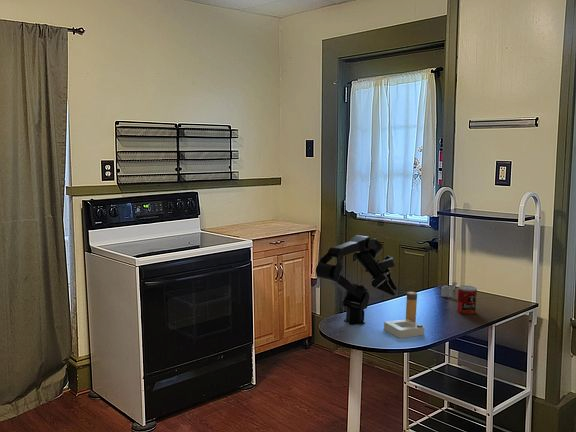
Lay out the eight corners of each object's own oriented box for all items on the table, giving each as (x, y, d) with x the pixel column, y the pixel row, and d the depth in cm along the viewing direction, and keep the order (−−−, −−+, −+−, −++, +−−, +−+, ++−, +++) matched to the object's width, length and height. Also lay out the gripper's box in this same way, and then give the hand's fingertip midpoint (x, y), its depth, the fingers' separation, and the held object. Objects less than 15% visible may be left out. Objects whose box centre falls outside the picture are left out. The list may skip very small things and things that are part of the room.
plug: (409, 326, 228) (410, 294, 226) (403, 323, 232) (404, 292, 230) (417, 325, 230) (419, 294, 228) (411, 322, 233) (413, 291, 232)
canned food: (462, 315, 246) (464, 290, 244) (453, 309, 254) (455, 285, 252) (478, 314, 247) (480, 289, 246) (469, 309, 255) (471, 285, 254)
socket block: (399, 338, 214) (400, 328, 214) (383, 329, 224) (384, 320, 224) (424, 335, 218) (424, 325, 218) (407, 326, 228) (407, 317, 228)
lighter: (440, 296, 276) (441, 279, 276) (442, 295, 278) (443, 279, 277) (454, 298, 272) (456, 282, 271) (456, 298, 273) (457, 281, 272)
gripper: (381, 254, 222) (409, 284, 220) (386, 246, 240) (412, 275, 238) (360, 272, 225) (387, 302, 223) (366, 263, 243) (391, 291, 241)
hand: (395, 292), depth 231 cm, fingers open, 9 cm apart
